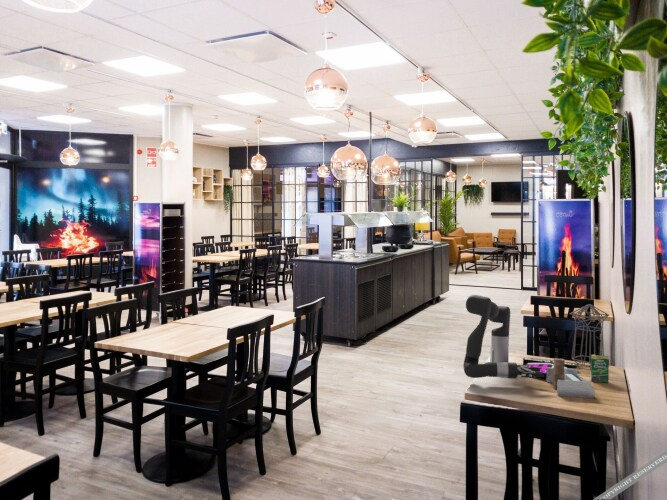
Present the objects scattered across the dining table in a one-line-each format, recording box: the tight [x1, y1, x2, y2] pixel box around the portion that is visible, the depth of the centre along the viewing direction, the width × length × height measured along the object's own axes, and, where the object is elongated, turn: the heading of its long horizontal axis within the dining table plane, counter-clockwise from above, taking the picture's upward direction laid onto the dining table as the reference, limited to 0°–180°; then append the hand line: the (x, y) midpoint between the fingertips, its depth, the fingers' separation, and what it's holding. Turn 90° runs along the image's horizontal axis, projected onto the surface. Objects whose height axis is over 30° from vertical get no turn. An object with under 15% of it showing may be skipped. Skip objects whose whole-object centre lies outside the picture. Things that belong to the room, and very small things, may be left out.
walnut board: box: [552, 357, 566, 390], centre depth 251 cm, size 4×3×14 cm
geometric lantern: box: [569, 303, 610, 371], centre depth 288 cm, size 16×16×35 cm
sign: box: [522, 357, 578, 381], centre depth 279 cm, size 27×4×30 cm
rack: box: [545, 367, 595, 399], centre depth 250 cm, size 16×23×7 cm
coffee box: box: [590, 354, 610, 384], centre depth 263 cm, size 8×3×13 cm, turn 67°
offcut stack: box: [565, 374, 580, 381], centre depth 250 cm, size 4×12×6 cm, turn 174°
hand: (541, 372), depth 252 cm, fingers open, 8 cm apart
